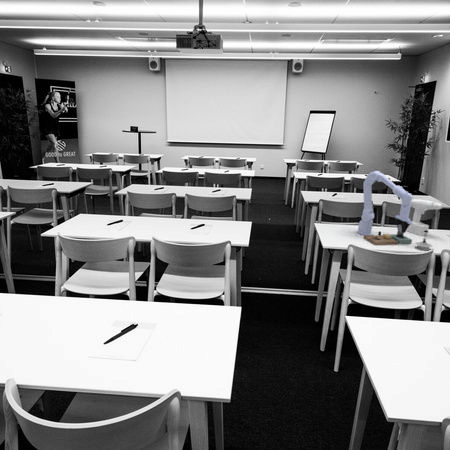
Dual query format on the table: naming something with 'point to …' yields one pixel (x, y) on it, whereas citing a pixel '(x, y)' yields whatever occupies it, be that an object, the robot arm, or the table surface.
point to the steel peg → (400, 231)
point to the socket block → (380, 240)
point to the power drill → (419, 209)
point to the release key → (387, 236)
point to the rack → (401, 239)
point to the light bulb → (423, 243)
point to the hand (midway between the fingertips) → (401, 231)
